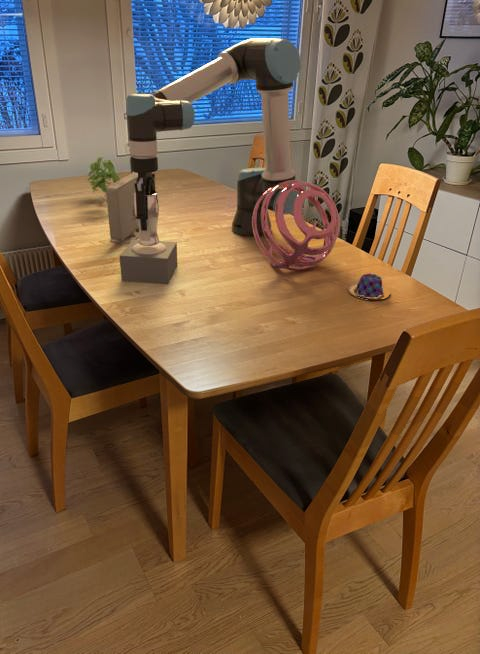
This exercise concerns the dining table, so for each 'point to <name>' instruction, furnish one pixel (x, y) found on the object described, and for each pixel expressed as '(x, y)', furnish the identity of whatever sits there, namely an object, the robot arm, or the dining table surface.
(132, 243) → the plate
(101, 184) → the plant cuttings
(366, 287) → the sun hat
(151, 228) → the beer glass
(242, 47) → the robot arm
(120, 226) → the network device
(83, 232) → the dining table surface
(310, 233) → the spiral basket
